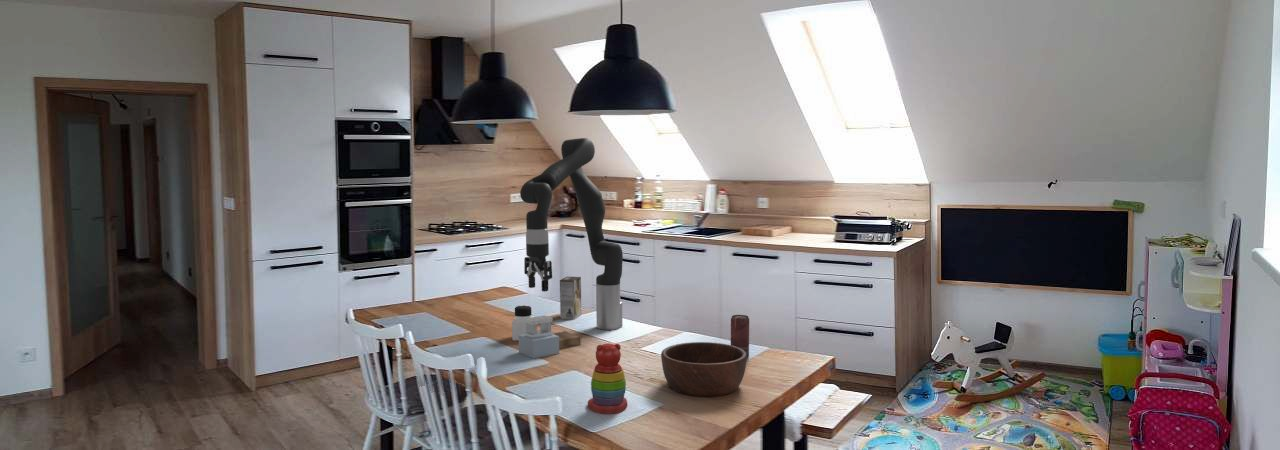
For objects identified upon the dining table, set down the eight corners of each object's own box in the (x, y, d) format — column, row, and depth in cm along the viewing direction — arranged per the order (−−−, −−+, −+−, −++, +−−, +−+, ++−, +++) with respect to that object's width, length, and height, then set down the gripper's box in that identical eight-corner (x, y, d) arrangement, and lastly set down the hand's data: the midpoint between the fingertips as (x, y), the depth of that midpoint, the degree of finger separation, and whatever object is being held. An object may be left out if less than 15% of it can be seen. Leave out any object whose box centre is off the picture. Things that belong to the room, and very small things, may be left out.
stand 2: (565, 339, 285) (565, 331, 285) (580, 344, 277) (580, 336, 277) (541, 343, 279) (541, 335, 279) (556, 349, 271) (556, 341, 271)
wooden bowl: (693, 369, 248) (693, 337, 246) (762, 384, 232) (763, 350, 231) (643, 388, 228) (643, 354, 227) (715, 406, 213) (715, 369, 211)
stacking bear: (625, 400, 217) (625, 338, 215) (631, 413, 207) (630, 347, 205) (586, 403, 215) (586, 339, 214) (590, 415, 206) (589, 349, 204)
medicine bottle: (531, 340, 283) (531, 308, 282) (512, 340, 284) (511, 308, 282) (534, 335, 291) (534, 304, 289) (515, 335, 291) (515, 304, 289)
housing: (545, 332, 271) (544, 315, 270) (552, 335, 267) (552, 317, 266) (524, 336, 266) (524, 318, 265) (532, 338, 262) (532, 321, 261)
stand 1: (543, 347, 274) (543, 330, 273) (559, 353, 266) (559, 336, 265) (518, 352, 268) (518, 335, 267) (533, 358, 260) (533, 340, 259)
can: (727, 358, 259) (727, 317, 257) (734, 354, 264) (734, 313, 263) (744, 361, 256) (745, 319, 254) (751, 356, 262) (751, 315, 260)
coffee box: (567, 314, 327) (566, 276, 326) (581, 314, 326) (581, 276, 324) (559, 318, 318) (559, 279, 317) (574, 319, 317) (574, 280, 315)
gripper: (558, 243, 260) (559, 291, 262) (536, 238, 271) (537, 285, 273) (538, 245, 255) (539, 294, 257) (516, 240, 266) (518, 287, 268)
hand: (538, 289), depth 265 cm, fingers open, 8 cm apart
